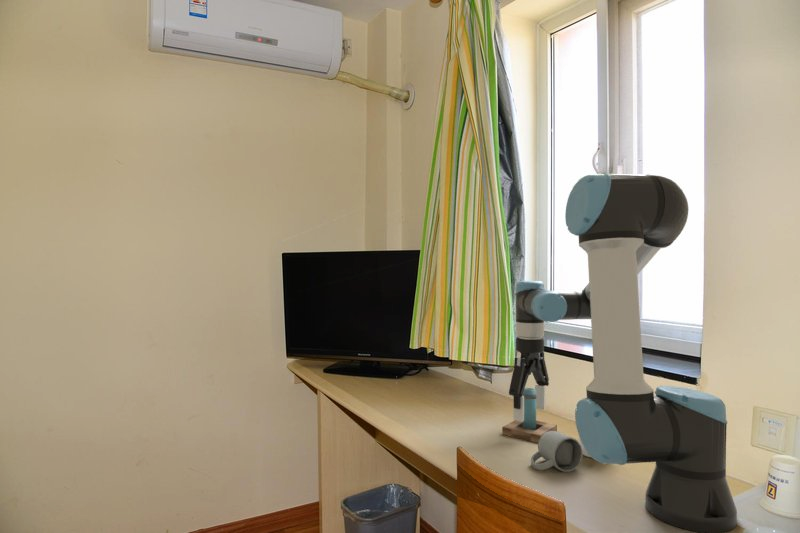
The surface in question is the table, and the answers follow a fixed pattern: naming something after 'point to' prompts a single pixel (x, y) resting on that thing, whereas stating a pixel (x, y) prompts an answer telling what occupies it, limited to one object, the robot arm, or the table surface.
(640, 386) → the robot arm
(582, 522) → the table surface
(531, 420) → the banded teal cylinder
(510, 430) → the square hole plate
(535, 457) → the ceramic mug
